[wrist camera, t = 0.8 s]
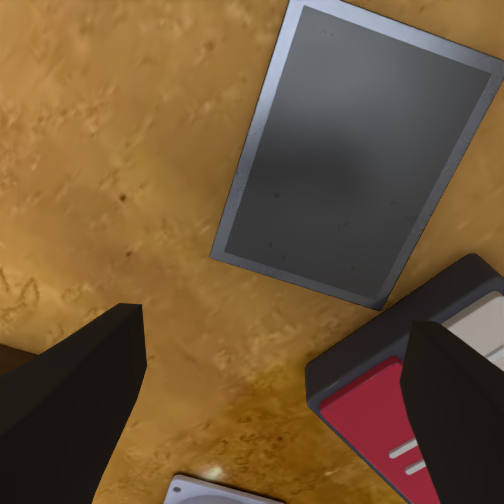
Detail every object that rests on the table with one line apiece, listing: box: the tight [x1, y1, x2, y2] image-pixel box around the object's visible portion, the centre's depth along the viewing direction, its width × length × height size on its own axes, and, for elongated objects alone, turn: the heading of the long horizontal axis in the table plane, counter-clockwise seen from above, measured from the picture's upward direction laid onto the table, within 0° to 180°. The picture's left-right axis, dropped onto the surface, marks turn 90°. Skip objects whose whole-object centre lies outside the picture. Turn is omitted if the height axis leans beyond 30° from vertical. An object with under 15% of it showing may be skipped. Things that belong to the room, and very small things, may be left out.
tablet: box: [209, 0, 504, 311], centre depth 19 cm, size 12×9×1 cm
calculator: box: [305, 254, 504, 504], centre depth 23 cm, size 11×4×15 cm
